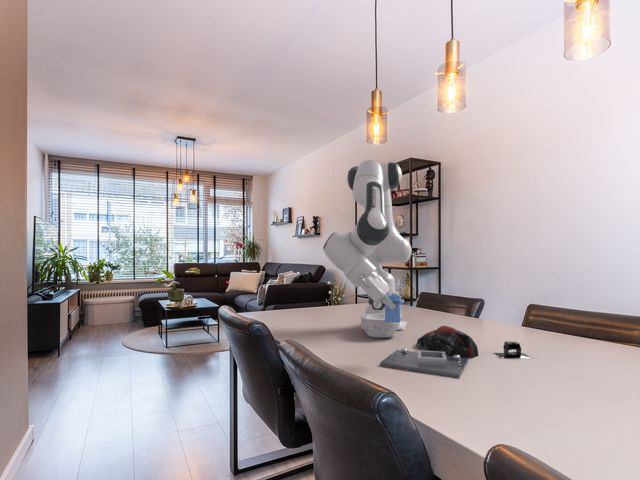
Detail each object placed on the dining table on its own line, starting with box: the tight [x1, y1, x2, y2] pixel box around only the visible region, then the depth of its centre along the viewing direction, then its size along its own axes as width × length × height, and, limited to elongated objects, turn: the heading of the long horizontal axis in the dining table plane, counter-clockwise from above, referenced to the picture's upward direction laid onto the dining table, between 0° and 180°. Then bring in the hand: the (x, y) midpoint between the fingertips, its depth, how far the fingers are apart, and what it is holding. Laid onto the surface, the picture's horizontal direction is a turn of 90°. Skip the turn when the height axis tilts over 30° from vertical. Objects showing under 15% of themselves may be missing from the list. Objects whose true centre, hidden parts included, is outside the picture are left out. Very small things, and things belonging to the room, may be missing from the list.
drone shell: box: [416, 325, 479, 359], centre depth 128 cm, size 21×20×8 cm
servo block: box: [382, 291, 405, 323], centre depth 115 cm, size 4×6×9 cm
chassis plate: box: [379, 347, 470, 378], centre depth 111 cm, size 16×22×3 cm
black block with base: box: [493, 341, 532, 359], centre depth 120 cm, size 12×7×5 cm, turn 87°
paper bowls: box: [360, 313, 400, 339], centre depth 149 cm, size 15×15×8 cm
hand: (395, 306), depth 115 cm, fingers closed on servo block, 4 cm apart
